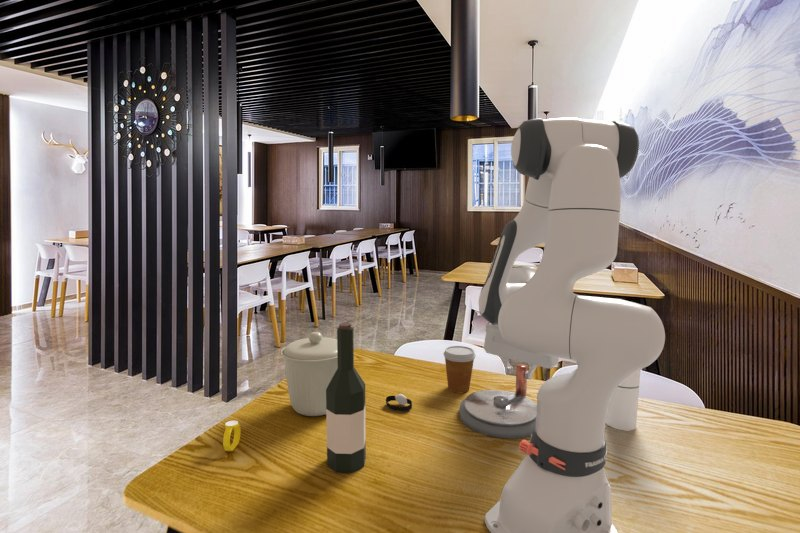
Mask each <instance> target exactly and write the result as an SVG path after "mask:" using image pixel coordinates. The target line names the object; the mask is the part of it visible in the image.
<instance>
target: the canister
mask: <svg viewBox="0 0 800 533" xmlns="http://www.w3.org/2000/svg"><path fill="white" fill-rule="evenodd" d="M280 355H281V357H282V358H283V363H284V370H285V377H286V379H285V380H286V384H287V390H288V395H289V401H290V402H289V403H290V404H291V407H292V409H293V410H294V411H295V412H296V413H297V414H299V415H302V416H305V417H306V416H307V417H319V416H324V415H325V416H326V389H327V387H328V385H329V383H330V381H331V379H332V377H333V376H334V374H335V372H336V370H337V369H338V359H337V338H334V337H327V336H325V337H324V336H323V335H322V333H321V332H319V331H313V332H311V333H310V334H309V335H308V337H305V338H301V339H297V340H294V341H292V342H290V343H288V344H287V345H286V346H283V348H282V349H281V350H280Z"/></svg>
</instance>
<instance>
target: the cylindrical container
mask: <svg viewBox="0 0 800 533" xmlns="http://www.w3.org/2000/svg"><path fill="white" fill-rule="evenodd" d="M641 370H642V369H640V370H638V371H636V372H634V373H633V374H631V375H630V376H628V377H627V378H626V379H625V380H623V381H622V382H621V383H620V384H619V386H618V387H617V388H616V390H615V391H614V393H613V395H612V397H611V399H610V402H609V405H608V410H607V416H606V423H605V425H607V426H608V427H610V428H612V429H616V430H619V431H634V430H636V428H637V418H638V408H639V407H638V404H639V393H640V379H641Z"/></svg>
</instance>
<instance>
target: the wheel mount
mask: <svg viewBox="0 0 800 533" xmlns="http://www.w3.org/2000/svg"><path fill="white" fill-rule="evenodd" d="M465 399H466V398H464V399H463V400H462V401H461V402H460V404H459V419H460V421H461V422H462V423H463V424H464V425H465V426H466V427H467V428H469V429H470V430H472V431H474V432H475V433H476V432H477V433H479V434H481V435H485V436H487V437H488V436H489V437H493V438H498V439H499V438H500V439H511V440H512V439H522V438H527V437H531V435H532V433H533V430H534V428H535V426H536V419H535V420H534V421H533V422H531V423H529V424H526V425H522V426H512V427H508V426H497V425H492V424H488V423H484V422H481V421H479V420H477V419H475V418H473V417H472V416H470V415H469V414H468V413H467V412H466V410H465Z"/></svg>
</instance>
